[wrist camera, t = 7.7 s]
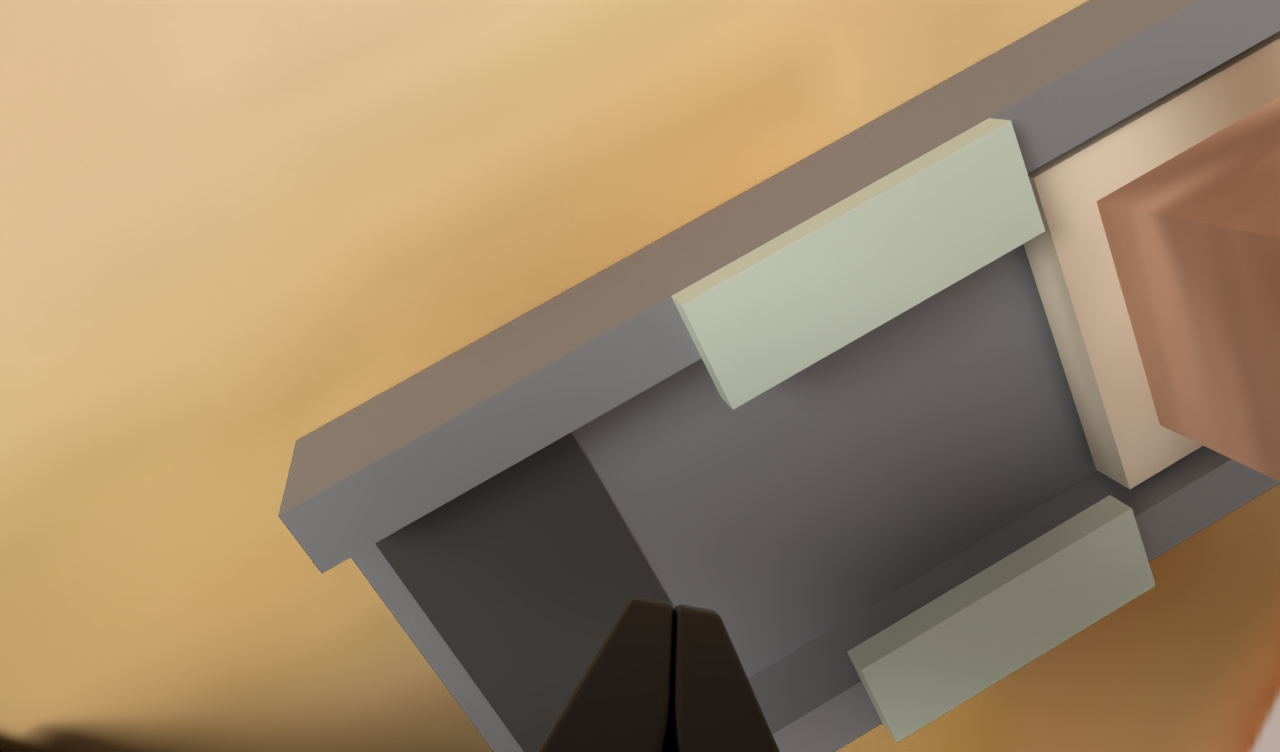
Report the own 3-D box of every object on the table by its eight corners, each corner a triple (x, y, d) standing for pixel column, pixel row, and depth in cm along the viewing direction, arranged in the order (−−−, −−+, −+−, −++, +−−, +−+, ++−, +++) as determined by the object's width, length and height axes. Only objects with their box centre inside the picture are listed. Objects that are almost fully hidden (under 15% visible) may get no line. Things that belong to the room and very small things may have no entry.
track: (549, 793, 22) (580, 934, 18) (296, 440, 18) (273, 533, 14) (1283, 357, 23) (1445, 410, 20) (1193, -58, 19) (1373, -84, 16)
